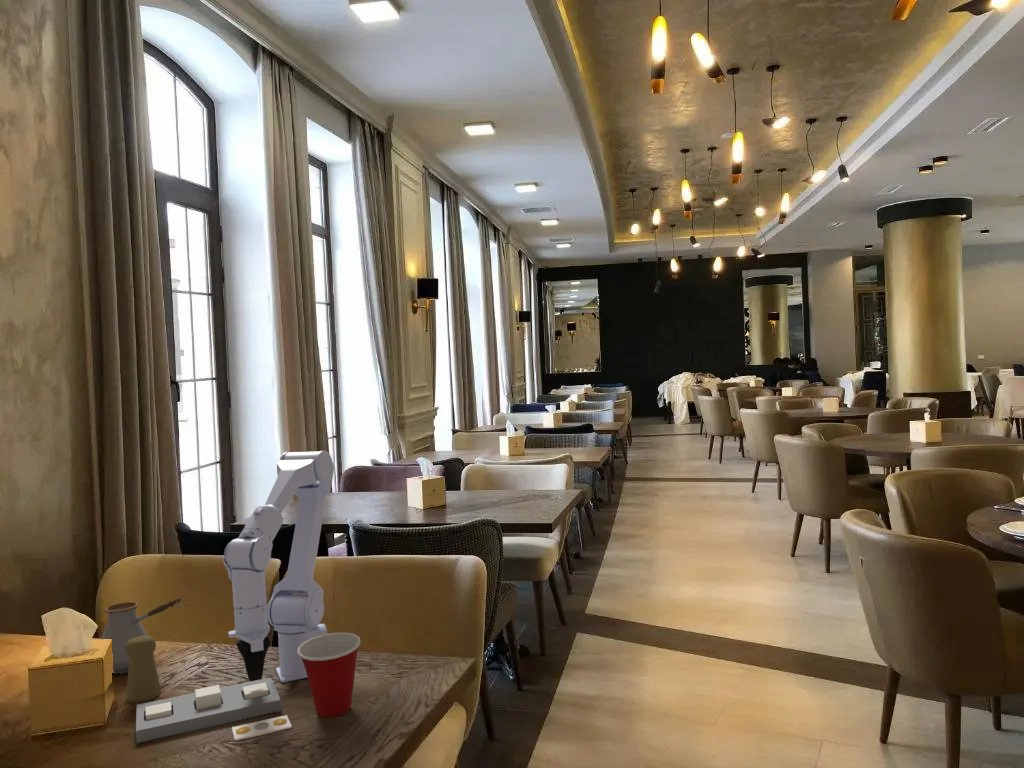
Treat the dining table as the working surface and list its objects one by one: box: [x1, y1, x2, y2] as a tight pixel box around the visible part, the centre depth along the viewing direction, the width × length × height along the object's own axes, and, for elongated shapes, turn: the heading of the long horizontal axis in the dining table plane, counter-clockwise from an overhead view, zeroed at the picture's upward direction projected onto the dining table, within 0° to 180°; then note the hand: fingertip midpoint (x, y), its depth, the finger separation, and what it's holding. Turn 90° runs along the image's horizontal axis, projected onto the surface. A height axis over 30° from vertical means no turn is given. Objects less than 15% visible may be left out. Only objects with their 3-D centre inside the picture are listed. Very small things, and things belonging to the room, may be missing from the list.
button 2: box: [243, 683, 269, 700], centre depth 143 cm, size 4×4×2 cm
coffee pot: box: [100, 598, 185, 675], centre depth 164 cm, size 21×12×15 cm, turn 71°
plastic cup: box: [297, 632, 361, 718], centre depth 138 cm, size 11×11×12 cm
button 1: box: [146, 702, 172, 720], centre depth 136 cm, size 4×4×2 cm
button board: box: [135, 677, 282, 744], centre depth 140 cm, size 23×12×2 cm, turn 115°
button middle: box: [194, 684, 221, 709], centre depth 140 cm, size 4×4×2 cm
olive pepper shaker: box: [125, 635, 162, 703], centre depth 150 cm, size 6×6×11 cm
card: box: [231, 714, 293, 742], centre depth 132 cm, size 9×5×1 cm, turn 115°
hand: (255, 679), depth 143 cm, fingers closed
